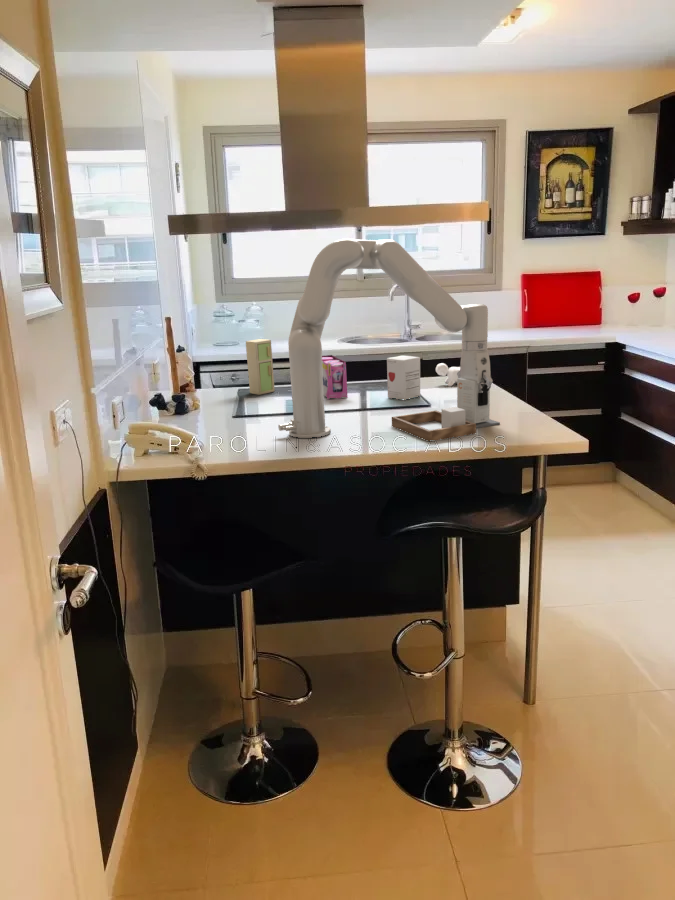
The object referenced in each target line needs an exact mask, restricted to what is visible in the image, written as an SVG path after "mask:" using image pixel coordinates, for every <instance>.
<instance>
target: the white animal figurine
mask: <svg viewBox="0 0 675 900" xmlns="http://www.w3.org/2000/svg"><path fill="white" fill-rule="evenodd" d="M459 371H460V366H451V367H448V365H447V364H446V363H444V362H441V363H438V364H437V365H436V367H435V372H436V373H437V375H438V376H441V377H446V376H447V378H445V381H444V383H445V384H447V387H452V386H453V385H454V384H457V379H458V376H457V372H459Z"/></svg>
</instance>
